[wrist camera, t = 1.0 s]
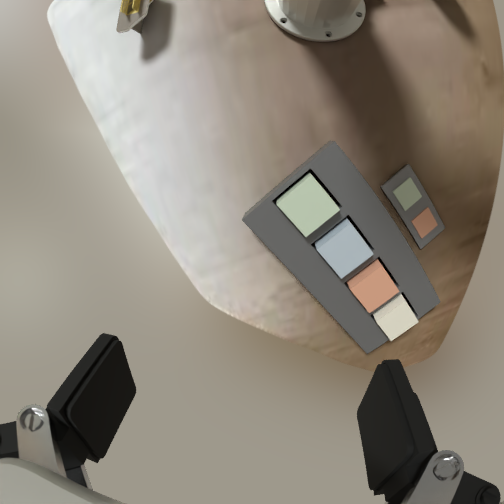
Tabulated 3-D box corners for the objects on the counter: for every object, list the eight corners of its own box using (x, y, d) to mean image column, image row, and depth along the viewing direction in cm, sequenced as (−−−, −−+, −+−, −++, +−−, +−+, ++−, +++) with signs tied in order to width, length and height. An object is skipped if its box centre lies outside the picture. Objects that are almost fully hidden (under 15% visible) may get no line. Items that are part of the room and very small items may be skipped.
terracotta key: (375, 256, 35) (381, 265, 32) (393, 281, 36) (399, 291, 33) (346, 279, 36) (349, 289, 34) (364, 302, 37) (369, 313, 35)
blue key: (345, 216, 33) (350, 223, 30) (367, 245, 34) (373, 254, 32) (314, 241, 35) (316, 249, 32) (337, 268, 36) (341, 278, 33)
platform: (198, -40, 22) (185, -62, 16) (185, 59, 29) (166, 46, 23) (124, -24, 23) (103, -39, 17) (107, 71, 30) (80, 65, 24)
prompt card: (407, 163, 31) (409, 164, 30) (443, 226, 34) (446, 228, 33) (380, 186, 33) (381, 187, 32) (419, 247, 35) (421, 249, 35)
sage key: (309, 171, 31) (311, 174, 29) (335, 203, 33) (340, 209, 30) (276, 199, 33) (276, 204, 31) (304, 229, 34) (305, 237, 32)
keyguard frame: (329, 140, 31) (334, 141, 29) (432, 291, 38) (440, 301, 35) (245, 213, 36) (241, 220, 33) (363, 341, 42) (367, 353, 40)
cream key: (399, 290, 36) (405, 300, 34) (412, 311, 37) (418, 321, 35) (371, 310, 38) (376, 321, 35) (386, 330, 39) (391, 341, 36)
